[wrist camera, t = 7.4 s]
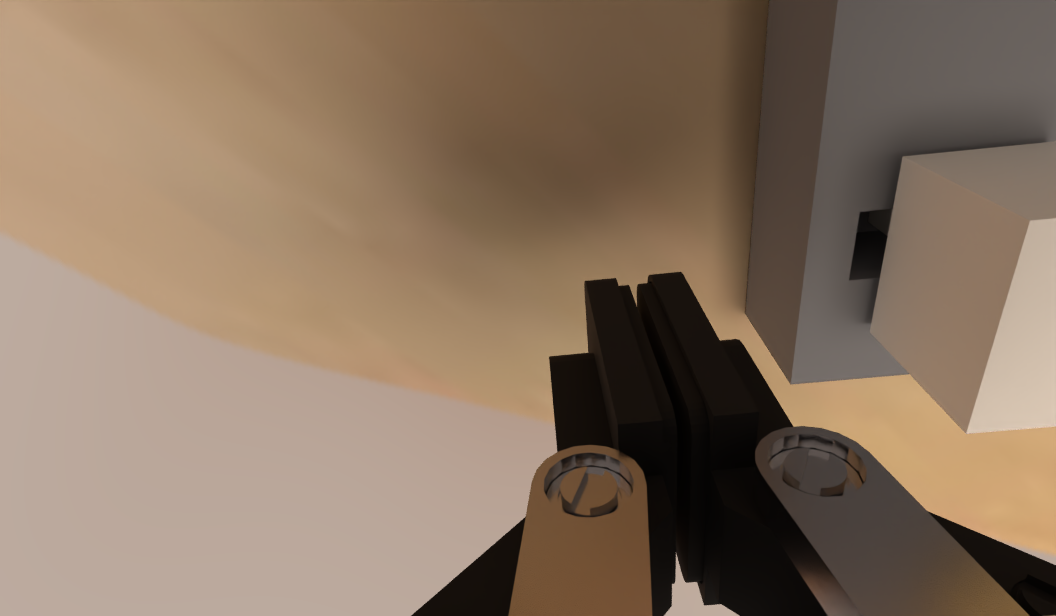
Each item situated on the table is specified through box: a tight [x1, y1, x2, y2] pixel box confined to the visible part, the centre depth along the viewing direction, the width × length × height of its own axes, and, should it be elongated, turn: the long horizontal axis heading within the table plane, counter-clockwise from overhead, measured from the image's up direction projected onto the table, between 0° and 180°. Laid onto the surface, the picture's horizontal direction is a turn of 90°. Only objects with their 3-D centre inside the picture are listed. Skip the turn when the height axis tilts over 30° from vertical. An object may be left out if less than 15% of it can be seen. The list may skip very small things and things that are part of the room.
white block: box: [868, 141, 1056, 434], centre depth 13 cm, size 3×4×6 cm
